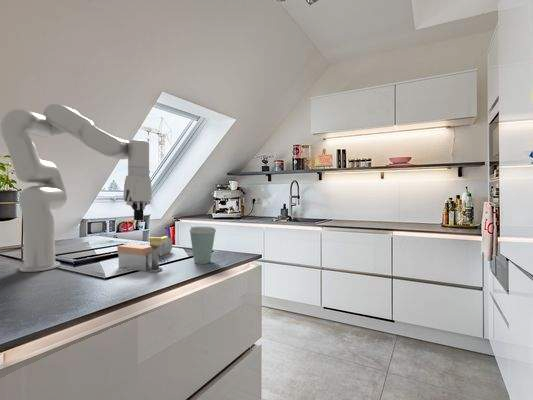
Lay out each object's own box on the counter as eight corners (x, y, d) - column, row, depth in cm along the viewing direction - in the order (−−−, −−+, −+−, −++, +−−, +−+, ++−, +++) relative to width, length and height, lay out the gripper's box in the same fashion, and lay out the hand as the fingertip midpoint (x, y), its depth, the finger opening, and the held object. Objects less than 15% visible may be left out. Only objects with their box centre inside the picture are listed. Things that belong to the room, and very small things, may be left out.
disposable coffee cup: (197, 258, 133) (197, 224, 133) (220, 260, 130) (220, 225, 130) (184, 264, 123) (184, 227, 122) (209, 266, 120) (208, 228, 120)
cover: (117, 252, 117) (117, 246, 117) (130, 249, 123) (130, 243, 123) (142, 255, 112) (142, 248, 112) (154, 252, 117) (154, 245, 117)
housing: (118, 267, 118) (117, 243, 118) (128, 264, 123) (128, 241, 122) (155, 272, 111) (155, 247, 110) (165, 269, 115) (164, 245, 115)
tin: (167, 251, 148) (167, 234, 148) (173, 251, 148) (173, 234, 147) (151, 258, 133) (151, 239, 133) (158, 259, 133) (158, 239, 133)
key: (161, 241, 123) (161, 233, 122) (171, 241, 122) (171, 234, 122) (146, 246, 112) (146, 238, 112) (158, 246, 111) (158, 238, 111)
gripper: (145, 173, 125) (145, 217, 126) (115, 171, 112) (115, 221, 112) (160, 173, 122) (160, 219, 123) (130, 171, 109) (130, 222, 109)
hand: (138, 219), depth 118 cm, fingers closed
